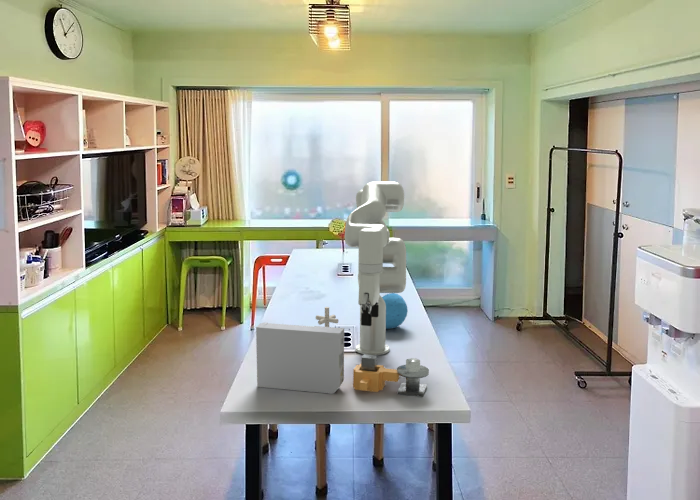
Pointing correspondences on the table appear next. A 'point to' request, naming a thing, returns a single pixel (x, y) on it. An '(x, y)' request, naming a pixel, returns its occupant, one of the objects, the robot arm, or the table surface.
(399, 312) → the blue ball
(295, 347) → the game console
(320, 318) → the pipe connector
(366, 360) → the rectangular block
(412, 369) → the grey disc with stub
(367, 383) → the bracket head
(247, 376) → the table surface
